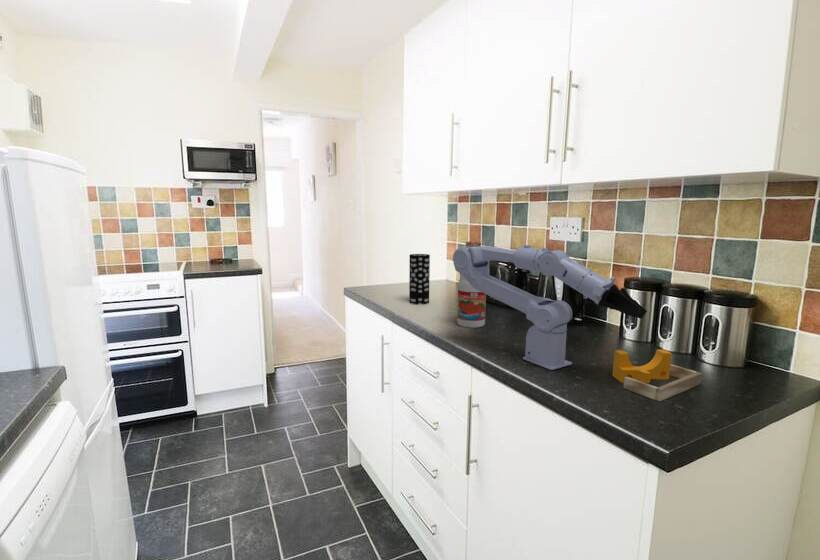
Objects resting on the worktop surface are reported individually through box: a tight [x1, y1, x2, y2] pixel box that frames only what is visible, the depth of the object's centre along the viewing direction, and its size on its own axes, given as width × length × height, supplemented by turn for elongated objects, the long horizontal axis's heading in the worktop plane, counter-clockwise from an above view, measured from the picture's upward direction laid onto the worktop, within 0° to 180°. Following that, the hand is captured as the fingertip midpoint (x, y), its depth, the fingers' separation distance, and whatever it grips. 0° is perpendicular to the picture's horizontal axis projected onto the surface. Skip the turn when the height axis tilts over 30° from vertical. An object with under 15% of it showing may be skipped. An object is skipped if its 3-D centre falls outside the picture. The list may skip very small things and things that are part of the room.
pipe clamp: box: [612, 349, 673, 384], centre depth 98 cm, size 12×4×6 cm, turn 92°
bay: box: [623, 363, 703, 402], centre depth 95 cm, size 8×17×2 cm, turn 122°
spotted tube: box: [408, 253, 431, 305], centre depth 177 cm, size 8×8×20 cm
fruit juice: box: [456, 241, 487, 329], centre depth 143 cm, size 9×9×28 cm
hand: (641, 314), depth 92 cm, fingers open, 7 cm apart
